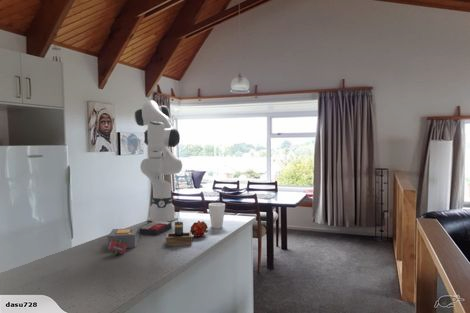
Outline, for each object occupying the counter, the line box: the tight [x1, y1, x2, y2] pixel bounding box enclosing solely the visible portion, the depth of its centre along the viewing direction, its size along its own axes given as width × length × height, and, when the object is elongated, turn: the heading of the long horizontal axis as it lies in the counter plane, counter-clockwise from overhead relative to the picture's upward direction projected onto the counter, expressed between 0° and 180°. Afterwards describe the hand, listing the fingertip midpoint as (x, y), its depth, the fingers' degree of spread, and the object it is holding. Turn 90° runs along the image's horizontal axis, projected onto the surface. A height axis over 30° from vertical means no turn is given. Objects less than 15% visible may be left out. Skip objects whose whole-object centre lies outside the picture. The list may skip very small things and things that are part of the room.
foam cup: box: [208, 202, 226, 229], centre depth 196 cm, size 10×9×13 cm
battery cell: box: [174, 220, 184, 237], centre depth 166 cm, size 4×4×10 cm
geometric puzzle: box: [108, 240, 128, 257], centre depth 150 cm, size 7×7×8 cm
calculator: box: [139, 221, 173, 236], centre depth 188 cm, size 11×4×15 cm
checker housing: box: [107, 227, 139, 250], centre depth 164 cm, size 12×12×6 cm
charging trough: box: [165, 231, 193, 247], centre depth 166 cm, size 8×12×4 cm, turn 98°
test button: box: [116, 228, 131, 234], centre depth 164 cm, size 6×6×3 cm
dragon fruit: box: [189, 220, 209, 238], centre depth 177 cm, size 8×8×12 cm
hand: (156, 180), depth 175 cm, fingers open, 8 cm apart
